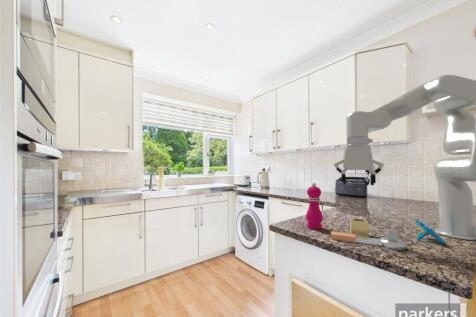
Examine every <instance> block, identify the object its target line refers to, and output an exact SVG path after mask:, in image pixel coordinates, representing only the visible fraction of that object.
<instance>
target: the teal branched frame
mask: <svg viewBox="0 0 476 317" xmlns="http://www.w3.org/2000/svg"><path fill="white" fill-rule="evenodd" d="M414 222H415V223H416V224H417V225H418V226H419V227H421V228H420V229H421V230H420V231H419V233H417V234H416V235H415V236H416V239H417V240H418V241H420V240H422V239H423V238H425V237H428V236H429V235H430V236H431V237H432V238H434V239H435V240H436V241H438V242H439V243H440V244H444V243H446V241H444V240H443V238H442V237H440V235H438V234H437V233H436V232H435V230H434V229H432V228H430V227H429V226H427V225H426V224H424V223H423V222H422V221H420V220H419V219H415V221H414Z"/></svg>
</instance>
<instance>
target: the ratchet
mask: <svg viewBox="0 0 476 317" xmlns="http://www.w3.org/2000/svg"><path fill="white" fill-rule="evenodd" d="M385 232H386V234H385V235H386V236H382V237H381V236H380V237H379V238H374V237H369V238H368V237H361V236H355V234H351V233H350V232H349V233H348V232H341V231H334V230H331V232H330V237H331V238H330V239H331V240H333V241H334V240H335V241H343V242H348V243H355V244H363V245H371V246H377V247H382V248H385V249H390V250H394V251H405V250H406V241H404V240H401V239H398V235H399V234H398V230H396V229H394V228H392V229H391V228H386V231H385Z"/></svg>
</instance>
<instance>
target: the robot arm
mask: <svg viewBox="0 0 476 317" xmlns="http://www.w3.org/2000/svg"><path fill="white" fill-rule="evenodd" d="M431 103H432V107H433V108H434V110H435V111H436V112H438V113H439V115H440V116H441V117H442V118H443V119H444V121H445V128H444V135H443V141H442V150H443V151H444V152H445V153H446V154H447V155H451V156H452V155H453V156H456V157H445V158H441V159H439V160H438V161H437V162H436V163H435V164H434V166H433V172H434V175H435V178H436V183H437V192H438V193H437V194H438V214H439V215H438V216H439V227H436V228H434V232H435V233H436V234H437V235H442V236H444V237H450V238H453V239H460V240H464V241H465V240H466V241H476V225H475V222H474V200H473V192H472V189H471V186H469V184H468V183H467V182H471V183H472V182H474V183H476V117H475V116H474V115H473V114H472V113H471V112H469V111H468V110H467V109H466V108H468V107H471V106H476V79H475V80H474V79H472V78H468V77H464V76H459V75H454V74H443V75H440V76H438V77H435V78H434V79H431V80H429V81H427V82H424V83H422V84H420V85H418V86H417V87H415V88H413V89H411V90H408V91H407V92H406V93H403V94H401V95H399V96H398V97H397V98H394V99H391V100H390V101H388V102H386V103H385V104H383V105H382V106H381V105H380V107H378V108H376V109H374V110H372V111H360V110H359V111H352V112H350V113H348V114H347V115H346V118H345V119H346V145H345V146H344V149H343V159H342V160H340V161H337V162H335V163H334V164H333V166H334V167H335V169H336V171H337V172H338V173H339V174H341V183H342V184H343V185H346V180H347V179H346V178H347V176H346V172H347V171H368V172H369V173H370V176H369V178H370V179H369V181H370V183H369V184H370V186H375V184H376V180H377V178H376V175H377V174H378V173H380V172H381V171H382V169H383V168H384V166H385V164H384V163H382V162H379V161H378V160H375V159H373V152H372V147H371V144H370V143H373V138H369V133H372V132H376V131H379V130H384V129H386V128H388V127H389V126H390V125H392V122H393V121H395V120H398V119H401V118H405V117H406V116H410V115H411V114H413V113H414V112H417V111H418V110H420V109H422V108H423V107H426V106H427V105H429V104H431ZM369 144H370V145H369ZM460 155H461V156H460ZM462 155H463V156H462ZM464 155H470V156H464ZM340 165H343V169H341V168H340V167H339V166H340ZM374 165H377V168H376V169H373V168H374Z"/></svg>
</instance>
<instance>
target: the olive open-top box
mask: <svg viewBox="0 0 476 317" xmlns="http://www.w3.org/2000/svg"><path fill="white" fill-rule="evenodd" d="M369 226H370V225H369V222H368V220H367V218H355V217H349V233H350V234H355V236H361V237H368V238H370V235H369V234H370V232H369Z"/></svg>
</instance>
